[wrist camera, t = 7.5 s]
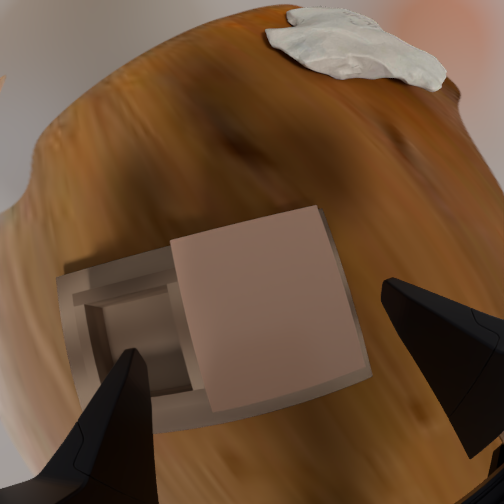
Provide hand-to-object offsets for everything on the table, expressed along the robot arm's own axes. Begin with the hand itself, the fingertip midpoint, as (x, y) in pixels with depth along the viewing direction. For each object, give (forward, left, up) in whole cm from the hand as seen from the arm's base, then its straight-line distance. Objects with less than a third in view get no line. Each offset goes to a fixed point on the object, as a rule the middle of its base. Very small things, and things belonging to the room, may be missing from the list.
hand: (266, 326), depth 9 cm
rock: (+28, +10, -10) cm, 31 cm away
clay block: (0, 0, -8) cm, 8 cm away
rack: (-3, +2, -9) cm, 10 cm away
